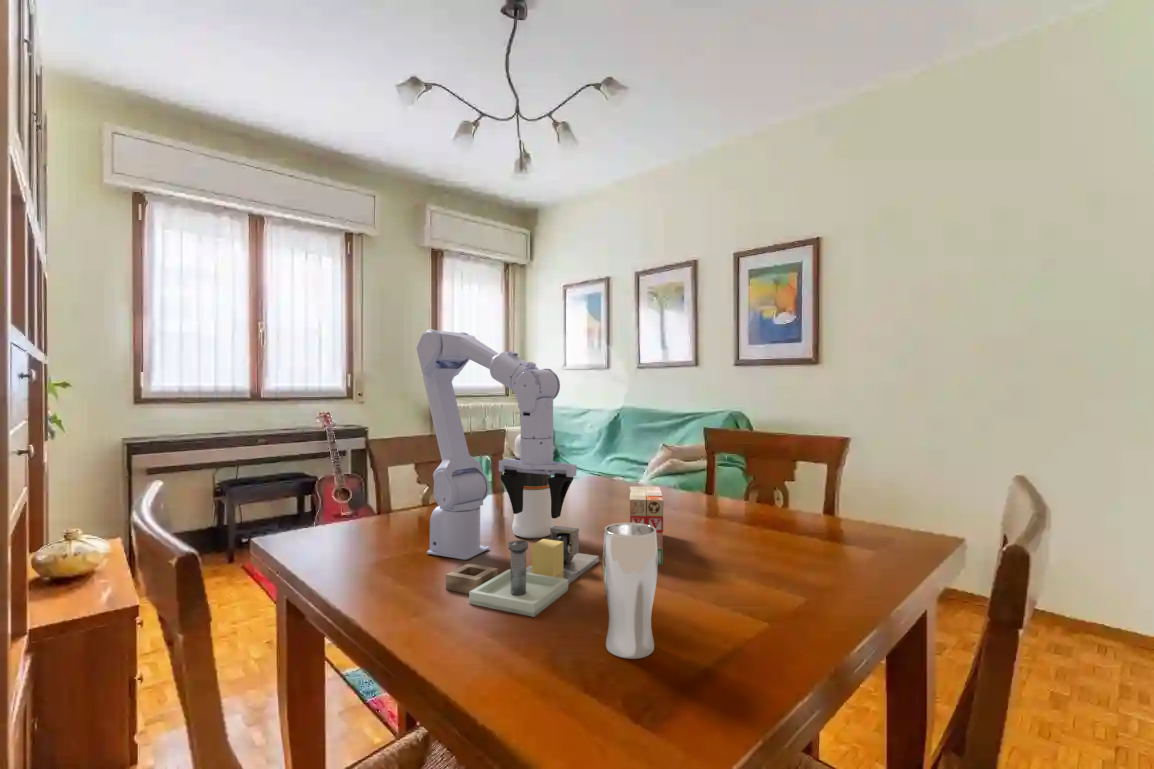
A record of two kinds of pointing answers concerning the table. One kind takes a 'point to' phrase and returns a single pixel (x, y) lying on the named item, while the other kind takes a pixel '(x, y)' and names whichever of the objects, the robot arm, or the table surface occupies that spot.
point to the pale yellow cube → (547, 557)
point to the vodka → (533, 504)
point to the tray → (532, 603)
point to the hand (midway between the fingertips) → (536, 514)
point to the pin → (518, 567)
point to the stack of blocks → (648, 512)
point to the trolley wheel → (570, 553)
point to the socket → (469, 577)
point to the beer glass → (630, 587)
